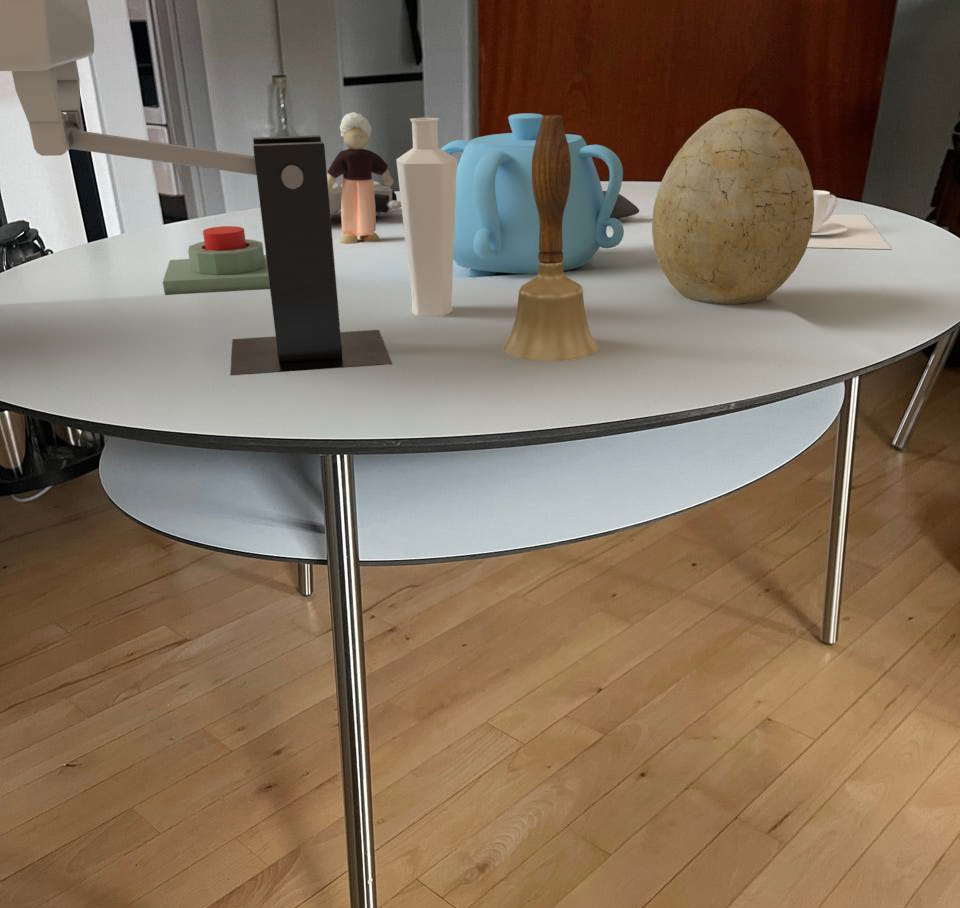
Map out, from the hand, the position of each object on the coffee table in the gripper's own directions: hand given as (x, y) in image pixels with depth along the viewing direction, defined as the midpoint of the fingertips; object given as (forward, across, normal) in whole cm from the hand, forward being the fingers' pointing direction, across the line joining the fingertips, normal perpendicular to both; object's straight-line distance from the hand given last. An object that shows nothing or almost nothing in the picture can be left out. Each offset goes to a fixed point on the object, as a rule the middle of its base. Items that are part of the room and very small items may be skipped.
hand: (61, 148), depth 64 cm
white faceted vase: (+15, -9, +24) cm, 30 cm away
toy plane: (+14, -55, +44) cm, 72 cm away
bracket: (+14, 0, +14) cm, 20 cm away
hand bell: (+14, +3, +31) cm, 34 cm away
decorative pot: (+14, -27, +36) cm, 47 cm away
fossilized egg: (+14, -9, +49) cm, 52 cm away
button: (+11, -25, +8) cm, 29 cm away
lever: (+2, 0, +7) cm, 7 cm away
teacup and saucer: (+14, -40, +69) cm, 81 cm away
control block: (+15, -25, +8) cm, 30 cm away
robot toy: (+15, -60, +20) cm, 65 cm away
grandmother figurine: (+15, -46, +22) cm, 53 cm away
